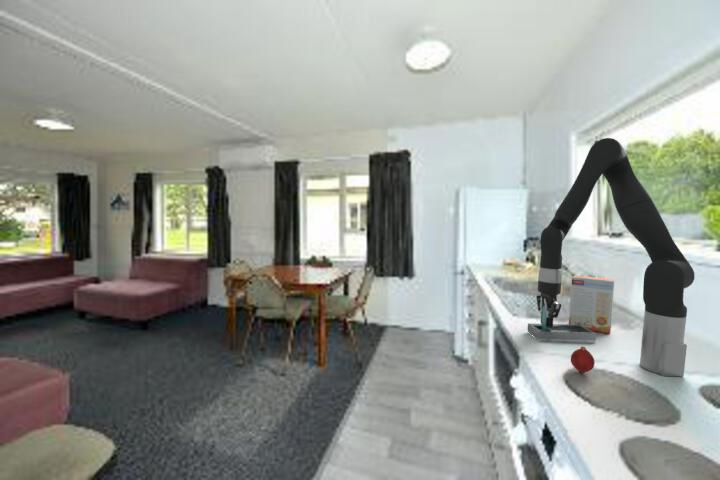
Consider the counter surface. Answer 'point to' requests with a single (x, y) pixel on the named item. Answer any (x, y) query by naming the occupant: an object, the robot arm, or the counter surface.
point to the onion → (582, 360)
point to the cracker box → (591, 303)
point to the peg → (544, 320)
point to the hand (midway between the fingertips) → (546, 325)
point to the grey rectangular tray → (562, 333)
